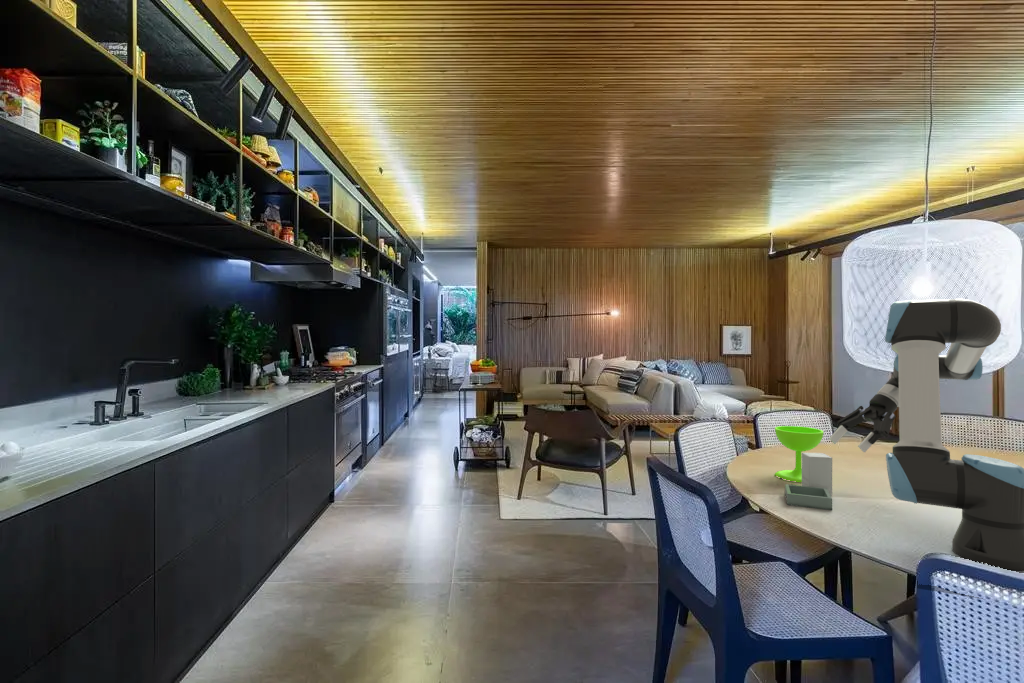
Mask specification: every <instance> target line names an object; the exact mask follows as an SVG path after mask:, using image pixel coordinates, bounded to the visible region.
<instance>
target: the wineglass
mask: <svg viewBox="0 0 1024 683" xmlns="http://www.w3.org/2000/svg"><path fill="white" fill-rule="evenodd" d="M774 431H775V436H776V437H777V439H778V441H779V442H780V443H781V445H783V446H784V447H786V448H787V449H789V450H791V451H793V452H794V451H795V468H794V469H783V470H779V471H777V472H775V473H774V476H775V475H776V476H778V477H780V478H783V479H786V480H790V481H796V482H802V453H803V452H807V451H811V450H813V449H814V448H816V447H817V446H818V445H819V444H820V443H821V441H822V439H823V438H824V430H822V429H819V428H816V427H815V428H814V427H809V426H808V427H807V426H798V425H796V426H795V425H780V426H779V425H778V426H775V427H774Z"/></svg>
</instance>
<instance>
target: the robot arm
mask: <svg viewBox="0 0 1024 683" xmlns="http://www.w3.org/2000/svg"><path fill="white" fill-rule="evenodd" d="M1001 331H1002V324H1001V319H999V317H998V315H997V314H996V313H995V312H994V311H993V310H992V309H991V308H989V307H988V306H987V305H984V304H982V303H980V302H977V301H975V300H971V299H965V298H954V299H953V298H951V299H949V298H948V299H945V298H944V299H908V300H898V301H894V302H893V303H891V305H890V307H889V313H888V319H887V326H886V332H885V338H884V342H885V343H888V344H891V346H890V347H891V350H892V351H893V352H895V353H896V355H895V357H894V360H893V371H892V376H891V377H890V378H889V380H888V381H886V382H885V384H884V385H883V386H882V387H881V388H880V389H879V390H878V391H877V393H876V394H875V395H874V396H872V397H871V399H870V400H869V402H868V403H869V405H868V406H867V407H864V406H863V405H860V406H858V407H857V409H854V410H853V411H852V412H850V413H849V414H847V415H846V416H844V417H842V418H841V419H839V420H838V421H837V424H838V425H839V426H838V427H837V428H836V430H834V432H833V433H832V434H831V435H830V436H829V437H828V439H829V440H830V442H831V443H832V444H834V445H835V444H837V443H838V442H839V441H840V440H841V438H842V437H843V436H844V435H845V434H846V433H847V432H848V429H851V428H852V427H855V426H857V425H859V424H862V423H867V422H870V423H873V430H872V431H870V433H868V435H867V436H866V437H865V438H864V439H863V440H862V441H861V442H860V444H858V446H857V447H858V448H859V449H860V451H862V452H863V453H866V452H867V451H868V450H869V449H870V448H871V446H872V445H874V444H875V443H876V442H878V440H879V439H881V438H883V437H884V439H887V438H888V437H889V435H890V432H891V431H890V430H891V429H892V428H891V427H892V425H893V422H894V420H895V419H896V417H897V416H896V414H894V413H895V412H896V411H897V409H898V416H899V417H898V425H899V426H898V427H899V430H898V431H899V441H898V442H896V443H895V444H894V445H893V446H892V452H889V453H886V454H885V461H886V471H887V476H888V478H887V479H888V483H889V487H890V492H891V495H892V496H893V497H894V498H895V499H897V500H899V501H904V502H910V503H914V504H922V505H928V506H929V505H930V506H937V507H945V508H951V509H958V510H959V509H960V510H961V521H960V522H959V524H958V527H957V529H956V531H955V534H954V536H953V538H952V541H951V542H952V544H951V545H952V548H951V549H952V551H953V552H954V553H956V554H957V555H958V556H960V557H962V558H965V559H967V558H968V559H967V560H969V559H971V560H970V561H972V560H974V561H973V562H975V561H978V562H983V563H987V564H990V565H994V566H999V567H1002V568H1001V569H1004V568H1006V569H1005V570H1012V571H1024V467H1022V466H1021V465H1019V464H1017V463H1013V462H1011V461H1007V460H1003V459H999V458H995V457H991V456H985V455H984V456H983V455H979V454H967V453H966V454H963V455H962V457H961V460H960V459H951V451H950V450H949V449H948V448H946V447H945V446H944V445H943V442H942V421H941V420H942V417H941V395H940V394H941V391H940V390H941V388H940V380H942V379H944V380H960V381H961V380H962V381H970V380H973V381H974V380H975V381H977V380H979V379H981V378H982V374H983V370H984V368H983V360H982V358H981V357H982V355H983V354H984V352H985V350H986V349H987V347H989V346H991V345H993V344H994V343H995V342H996V341H997V339H999V337H1000V334H1001ZM947 343H948V344H950V345H949V347H948V350H947V353H946V354H945V355H940V354H941V353H942V352H944V351H946V348H947V347H946V346H947V345H946V344H947ZM978 562H977V563H978ZM994 566H993V567H994Z"/></svg>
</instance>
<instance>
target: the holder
mask: <svg viewBox="0 0 1024 683" xmlns="http://www.w3.org/2000/svg"><path fill="white" fill-rule="evenodd" d="M784 496H786V497H785V500H786V505H787V506H793V507H802V508H811V509H819V510H828V511H833V497H832V495H830V493H829V492H828V490H827V488H818V487H809V486H802V485H798V484H787V483H785V484H784Z"/></svg>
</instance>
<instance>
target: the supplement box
mask: <svg viewBox="0 0 1024 683" xmlns="http://www.w3.org/2000/svg"><path fill="white" fill-rule="evenodd" d="M801 468H802V483H801V486H809V487H818V488H827V490H828V492H829V493H830V495H831V496H832V495H833V456H832V457H831V456H830V455H828V454H826V453H822V452H801Z"/></svg>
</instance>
